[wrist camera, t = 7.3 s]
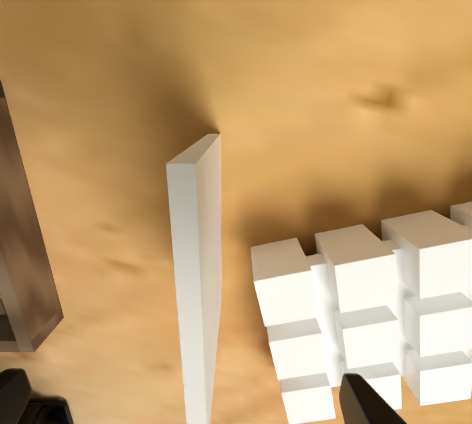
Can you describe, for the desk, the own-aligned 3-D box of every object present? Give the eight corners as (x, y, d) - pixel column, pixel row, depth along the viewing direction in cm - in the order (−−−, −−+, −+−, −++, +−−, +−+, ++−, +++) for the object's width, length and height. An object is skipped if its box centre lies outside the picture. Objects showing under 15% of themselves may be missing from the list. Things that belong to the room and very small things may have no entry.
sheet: (222, 289, 22) (207, 448, 11) (212, 288, 22) (188, 448, 11) (220, 133, 18) (195, 164, 7) (208, 133, 18) (165, 163, 7)
